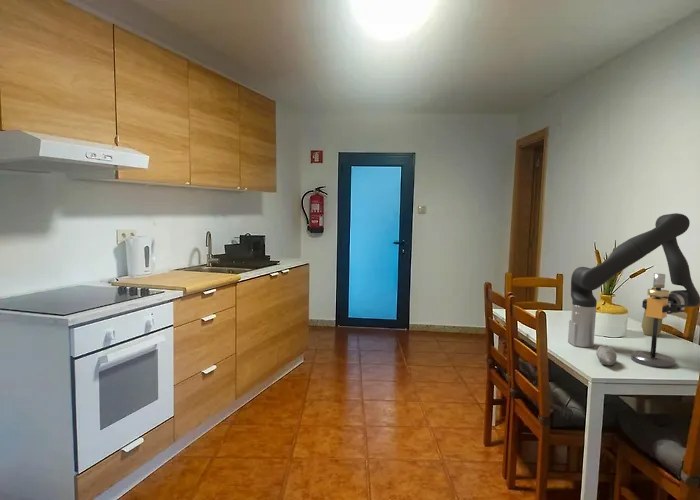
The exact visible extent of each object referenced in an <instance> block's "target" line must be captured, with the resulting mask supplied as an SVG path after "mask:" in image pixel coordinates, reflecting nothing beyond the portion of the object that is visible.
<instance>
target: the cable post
mask: <svg viewBox="0 0 700 500" xmlns="http://www.w3.org/2000/svg"><path fill="white" fill-rule="evenodd" d="M665 283H666V274H664V273H657V272H656V273H653V282H652V287H653V288H647V296H650V297H655V299H660V297H669V293H670V291H669V290H667V289H665V288H666V287H665V286H666V284H665ZM658 319H659V318H653V330H652V336H651V344H650V351H648V350H647V351H646V350H635V351H632V352H631V356H630V359H631V361H633V362H634V363H636V364H640V365H641V366H647V367H650V368H656V369H658V368H659V369H672V368H675V366H676V365H675V364H676V359H675V358H674V357H672V356H669V355H667V354H663V353H659V352H657V342H658V341H657V340H658V336H657V331H658Z"/></svg>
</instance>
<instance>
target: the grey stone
mask: <svg viewBox="0 0 700 500" xmlns="http://www.w3.org/2000/svg"><path fill="white" fill-rule="evenodd" d="M595 355H596V357H597V359H598V360H599V362H600V363H601V364H602V365H605V366H612V365H614V364H615V363H616V361H617V357H618V355H617V353H616V352H615V349H614V348H613V347H611V346H608V345H606V344H605V345H599V347H598V348H597V351H596V353H595Z"/></svg>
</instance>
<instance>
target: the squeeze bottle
mask: <svg viewBox="0 0 700 500" xmlns="http://www.w3.org/2000/svg"><path fill="white" fill-rule="evenodd" d="M653 318H654V317H648V316H646V310H645V309H644V312H643V317H642V322H641V328H642V332H643V335H645V336H650V337H652V330H653ZM662 321H663V320H662V319H658V331H657V337H659V335H660V334H661V332H662V329H663V322H662Z"/></svg>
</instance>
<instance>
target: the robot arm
mask: <svg viewBox="0 0 700 500" xmlns="http://www.w3.org/2000/svg"><path fill="white" fill-rule="evenodd" d="M690 223H691V222H690V219H689V217H688V216H686V215H685V214H683V213H678V212H677V213H676V212H675V213H669V214H668V213H667V214H663V215H660V216H659V217H658V218H657V219H656V221H655V225H654V226H655V227H654V228H653V229H651V230H648V231H646V232H642V233H640V234H638V235H636V236H633V237H631V238H628V239H627V240H625V241H623V242H622V243H621V244H619V245H618V246H616V247H615V248H614V249H613V250H612V251H611V252H610V254H609V256H608V257H607V258H606V259H605V260H604V261H603V262H601V263H599V264H597V265H595V266H593V267H591V268H590V267H587V266H579V267H576V268H575V269H574V270H573V272H572V274H571V278H570V279H571V280H570V297H571V300H572V303H571V317H570V319H571V320H569V321H568V335H567V342H568V343H569V344H571V345H572V346H573V347H580V348H593V347H594V345H595V332H596V331H595V330H596V317H597V316H596V315H597V303H598V302H597V299H596V297H595V296H594V293H593V291H594V290H597V289H599V288H600V287H602V286H603V285H604V284H606V283H607V282H608V281H609V280H610V279H611V278H613V277H614V276H615V275H617V274H619V273H620V272H622V271H624V270H625V269H627V268H628V267H630V266H632V265H633V264H635V263H636V262H638V261H640V260H641V259H643V258H644V257H646V256H647V255H649V254H650V253H652V252H653V251H655V250H656V249H658V248H659V247H660V246H662V249H663V252H664V255H665V258H666V262H667V268H668V272H669V278H670V283H671V284H672V285H675V286H680V287H683V288H684V289H683V290H682V289H681V290H680V289H679V290H677V289H676V290H671V291H669V297H660V298H666V299H668V305H667V306H663V308H662V312H663V313H665V312H667V315H669V314H670V315H671V314H673V313H674V314H678V313H684V312H685V308H690V307H691V308H693V307H698V306H699V304H700V294H699V291H698V289H697V288H696V287H695V285H694V283H693V279H692V278H691V276H692V275H691V271H690V265H689V262H688V260H687V259H686V257H685V255H684V253H683V252H682V250H681V248H680V246H679V243H678V240H677V237H679V236H681V235H683V234H684V233H686V232H687V231H688V229H689V228H690ZM641 307H642V308H643V309H644V311H645V310H646V309H647V298H645V299H643V300H642V305H641Z"/></svg>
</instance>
